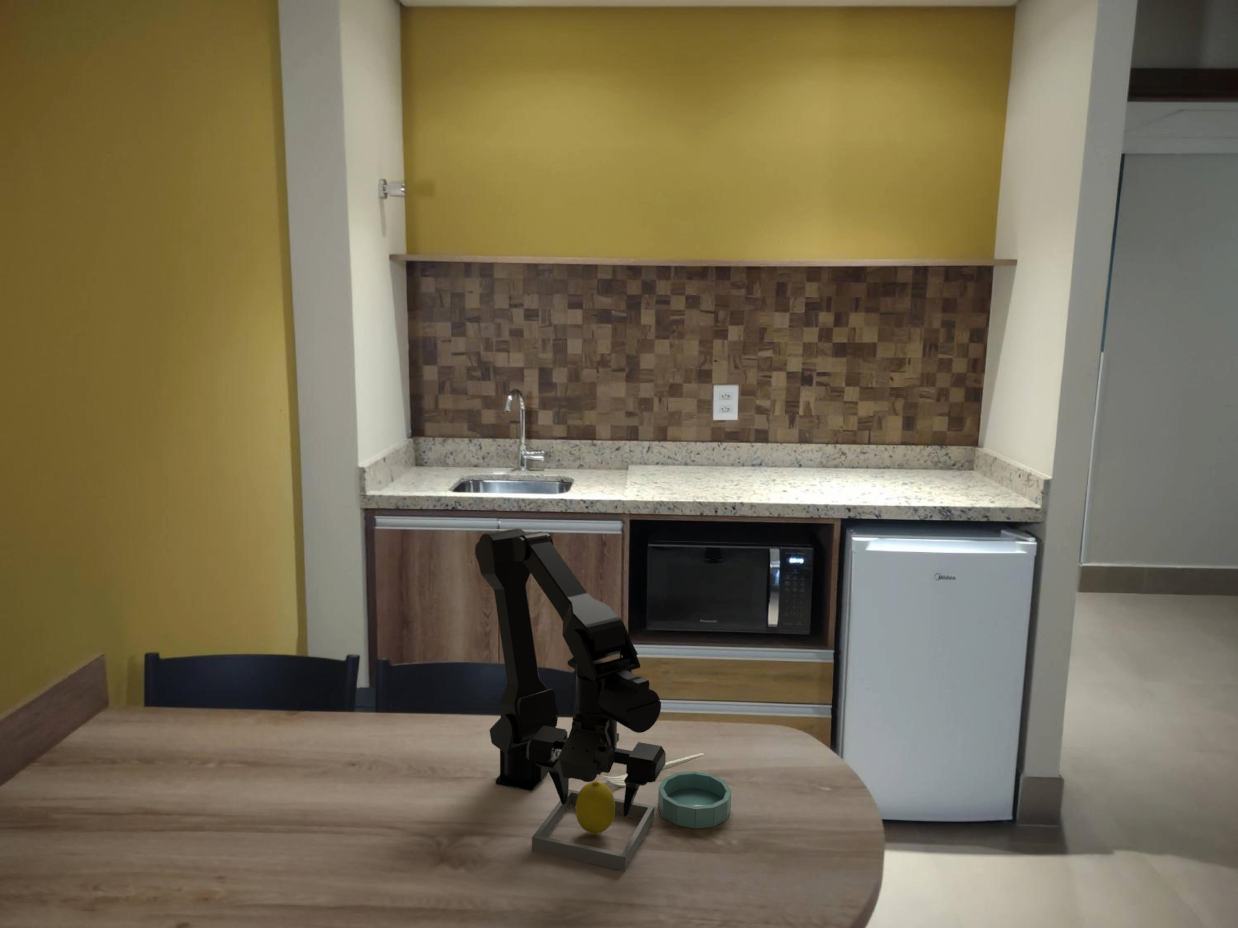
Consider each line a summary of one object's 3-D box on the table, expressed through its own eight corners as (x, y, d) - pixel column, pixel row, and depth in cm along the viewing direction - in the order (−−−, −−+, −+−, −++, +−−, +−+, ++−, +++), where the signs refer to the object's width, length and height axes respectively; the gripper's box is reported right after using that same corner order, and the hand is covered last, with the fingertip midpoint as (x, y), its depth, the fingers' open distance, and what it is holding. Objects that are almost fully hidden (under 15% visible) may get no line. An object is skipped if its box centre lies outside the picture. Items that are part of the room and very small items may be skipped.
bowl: (650, 819, 134) (651, 800, 133) (669, 784, 144) (670, 766, 143) (721, 833, 131) (721, 813, 130) (735, 797, 140) (736, 778, 140)
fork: (710, 762, 153) (710, 751, 152) (610, 793, 141) (610, 782, 141) (697, 753, 155) (698, 743, 155) (598, 784, 144) (599, 773, 144)
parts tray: (531, 850, 126) (531, 836, 125) (568, 801, 138) (568, 789, 138) (625, 870, 122) (625, 857, 121) (654, 818, 134) (654, 805, 134)
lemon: (610, 847, 127) (611, 793, 125) (571, 842, 128) (571, 788, 126) (618, 825, 132) (619, 774, 131) (580, 820, 133) (581, 769, 132)
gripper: (509, 718, 122) (509, 826, 125) (644, 741, 116) (641, 854, 119) (542, 686, 132) (542, 786, 135) (668, 706, 127) (665, 810, 129)
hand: (595, 809), depth 129 cm, fingers open, 9 cm apart
